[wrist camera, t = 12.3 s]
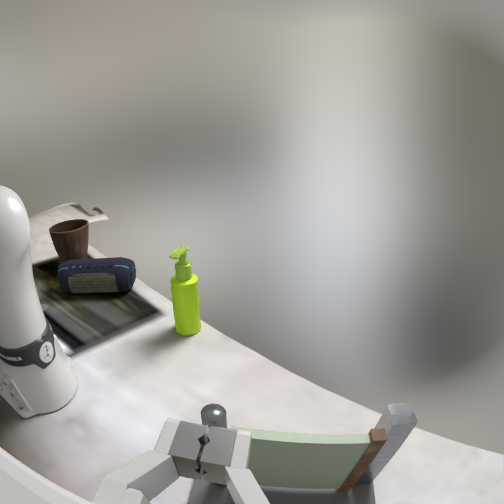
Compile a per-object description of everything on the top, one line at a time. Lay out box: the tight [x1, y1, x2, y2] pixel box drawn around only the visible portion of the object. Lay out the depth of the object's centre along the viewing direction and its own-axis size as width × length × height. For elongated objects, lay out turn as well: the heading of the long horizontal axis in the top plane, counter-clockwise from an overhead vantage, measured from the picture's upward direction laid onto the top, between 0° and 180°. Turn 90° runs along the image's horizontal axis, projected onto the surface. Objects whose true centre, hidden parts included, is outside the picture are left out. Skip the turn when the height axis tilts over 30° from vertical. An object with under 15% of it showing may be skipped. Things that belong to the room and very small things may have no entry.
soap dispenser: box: [170, 246, 201, 336], centre depth 63 cm, size 6×7×20 cm
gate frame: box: [188, 403, 417, 504], centre depth 24 cm, size 25×20×18 cm
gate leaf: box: [231, 426, 387, 491], centre depth 27 cm, size 16×2×14 cm, turn 82°
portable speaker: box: [58, 257, 136, 294], centre depth 78 cm, size 25×10×10 cm, turn 103°
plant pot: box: [49, 219, 88, 263], centre depth 90 cm, size 15×15×16 cm
